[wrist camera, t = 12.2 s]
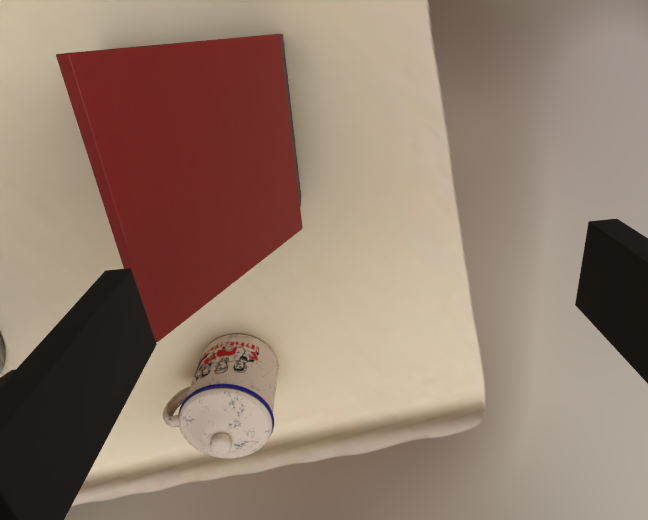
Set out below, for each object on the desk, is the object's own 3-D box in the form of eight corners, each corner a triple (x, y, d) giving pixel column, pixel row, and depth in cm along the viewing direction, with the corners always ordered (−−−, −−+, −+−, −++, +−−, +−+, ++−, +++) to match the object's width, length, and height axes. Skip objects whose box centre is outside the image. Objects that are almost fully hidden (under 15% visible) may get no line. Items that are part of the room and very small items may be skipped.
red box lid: (146, 339, 24) (157, 342, 24) (55, 54, 18) (68, 53, 18) (294, 227, 36) (302, 228, 36) (270, 34, 30) (280, 33, 30)
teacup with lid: (264, 321, 49) (250, 400, 38) (291, 384, 53) (284, 471, 42) (161, 347, 50) (120, 430, 40) (194, 407, 54) (165, 496, 44)
